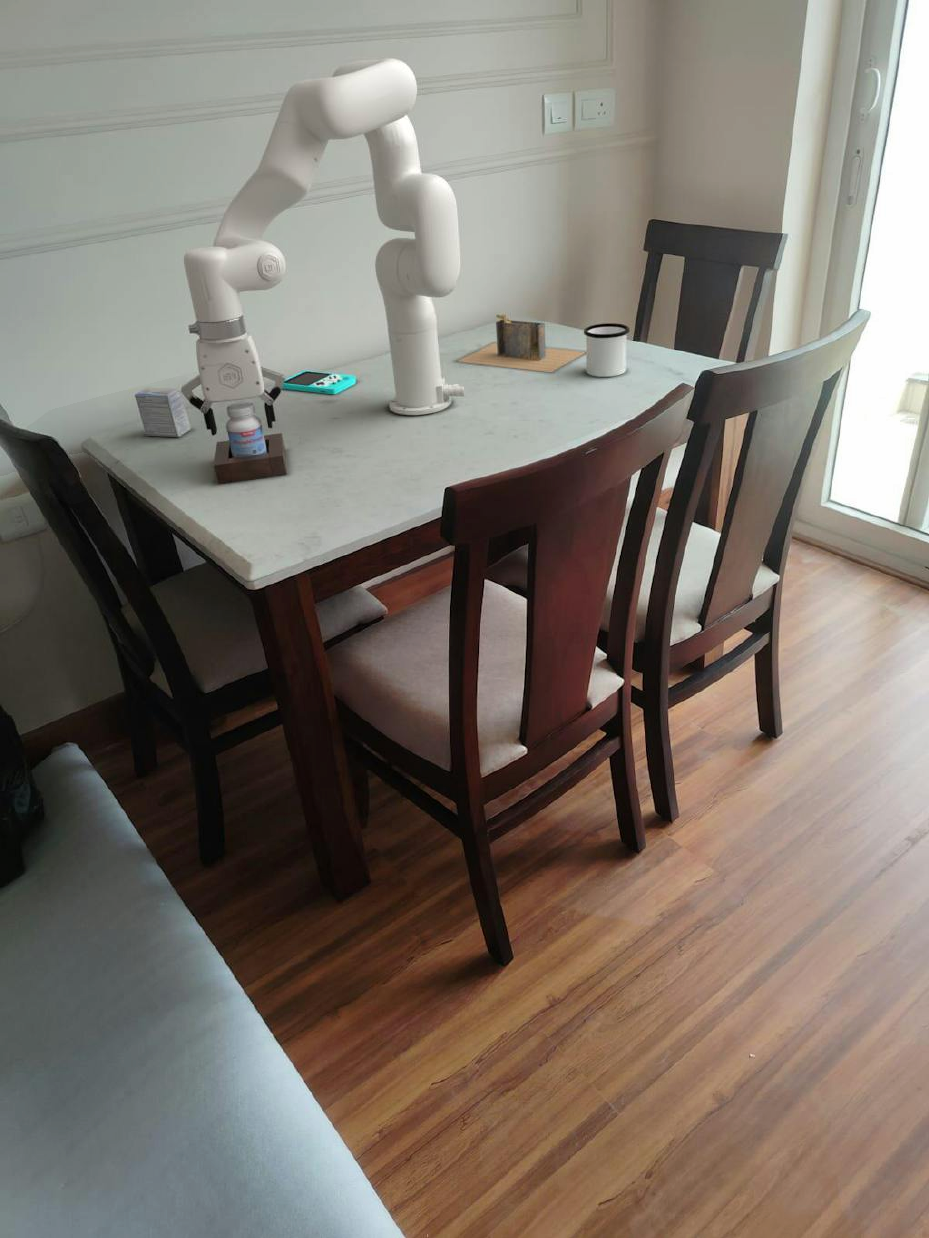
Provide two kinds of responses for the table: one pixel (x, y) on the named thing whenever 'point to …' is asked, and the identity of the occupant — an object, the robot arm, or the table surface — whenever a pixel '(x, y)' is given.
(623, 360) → the mug
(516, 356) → the architectural model on board
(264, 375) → the robot arm
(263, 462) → the holder
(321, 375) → the handheld game console
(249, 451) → the pill bottle
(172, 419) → the medicine box
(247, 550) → the table surface
